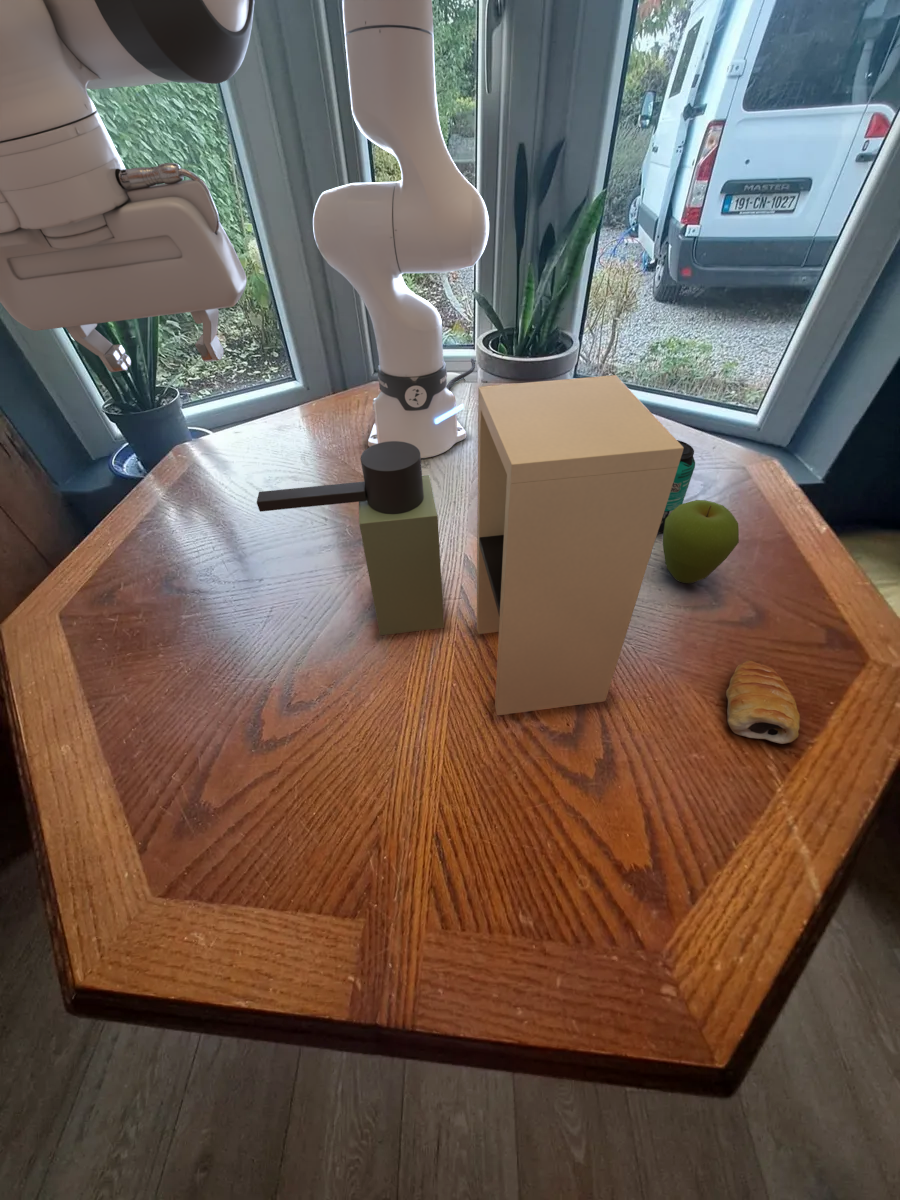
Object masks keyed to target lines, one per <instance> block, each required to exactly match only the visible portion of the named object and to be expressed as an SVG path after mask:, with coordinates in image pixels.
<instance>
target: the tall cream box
mask: <svg viewBox="0 0 900 1200" xmlns="http://www.w3.org/2000/svg"><path fill="white" fill-rule="evenodd" d="M477 390H478V393H477V397H478V398H477V404H478V405H477V410H478V411H477V505H476V506H477V510H476V511H477V516H476V517H477V521H476V522H477V524H476V526H477V528H476V532H477V533H476V543H477V544H476V631H477V634H478V635H483V634H492V633H498V639H497V641H498V642H497V659H496V660H497V661H496V678H495V695H494V696H495V698H494V709H495V713H496V716H505V715H513V714H521V713H526V712H527V713H528V712H535V711H541V710H549V709H557V708H564V707H566V708H567V707H572V706H573V707H574V706H579V705H588V704H595V703H603V702H606V701H607V698H608V694H609V690H610V688H611V685H612V681H613V678H614V675H615V671H616V669H617V665H618V662H619V659H620V656H621V652H622V649H623V645H624V642H625V640H626V637H627V633H628V630H629V627H630V623H631V619H632V618H633V613H634V611H635V607H636V605H637V601H638V597H639V595H640V591H641V588H642V584H643V582H644V578H645V574H646V571H647V568H648V565H649V562H650V560H651V556H652V552H653V549H654V546H655V543H656V540H657V537H658V533H659V532H658V530H659V527H660V523H661V520H662V517H663V514H664V510H665V507H666V504H667V501H668V498H669V494H670V491H671V488H672V485H673V481H674V478H675V475H676V472H677V469H678V465H679V462H680V459H681V456H682V452H683V449H684V447H683V446H682V445H681V444H680V443H679V442H678V441H677V440H678V439H676V438H675V436H674V435H673V434H672V433H671V432H669V430H668V429H667V428H666V426H664V425H663V423H661V421H659V419H658V418H657V417H656V416H655V415H654V414H653V413H652V411H650V410H649V409H648V408H647V407H646V405H644V404H643V402H642V401H641V400H640V399H639V398H638V397H637V396H636V395H635V393H634V392H632V390H631V389H630V388H629V387H627V385H626V384H625V383H624V382H623V380H621V379H620V378H619V377H618V376H617V374H613V375H612V374H611V375H599V376H588V377H577V378H564V379H554V380H553V379H552V380H543V381H530V382H529V381H528V382H518V383H517V382H516V383H508V384H496V385H484V386H482V385H481V386H478V389H477Z"/></svg>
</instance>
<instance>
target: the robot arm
mask: <svg viewBox="0 0 900 1200" xmlns="http://www.w3.org/2000/svg"><path fill="white" fill-rule="evenodd" d="M341 2H342V20H343V33H344V43H345V44H344V46H345V52H346V53H345V54H346V64H347V65H346V66H347V74H348V75H347V76H348V85H349V86H348V87H349V95H350V97H349V98H350V105H351V107H350V108H351V114H352V116H353V120H354V122H355V124H356V127H357V129H358V130H359V131H360V133H361V134H362V135H363V136H364V137H365V138H366V139H368V140H369V141H370V142H371V143H373V144H374V145H376V146H377V147H379V148H381V149H382V150H383V151H386V152H387V153H389V154H391V155H392V156H394V157H395V159H396V160H397V162H398V165H399V168H400V172H401V174H400V175H401V179H400V180H397V181H380V182H379V181H378V182H377V181H376V182H352V183H347V184H344V185H340V186H336V187H333V188H331V189H327V190H325V191H322V193H321V194H320V195H319V197H318V199H317V202H316V204H315V207H314V210H313V216H312V231H313V237H314V240H315V244H316V246H317V249H318V250H319V252H320V255H321V256H322V258H323V259H324V261H325V262H326V263H327V264H328V265H329V266H330V267H331V268H332V269H334V270H335V271H336V272H338V273H339V274H340V275H341V276H343V278H345V279H346V280H347V282H348V283H349V284H350V285H351V287H353V289H354V290H355V291H356V292H357V294H358V296H359V297H360V298H361V300H362V302H363V303H364V305H365V308H366V309H367V312H368V314H369V317H370V320H371V324H372V329H373V332H374V338H375V343H376V350H377V356H378V364H379V365H378V366H377V382H378V387H379V390H380V392H379V394H378V396H376V397H375V398H373V399H372V410H373V412H374V423H373V426H372V428H371V432H370V434H369V436H368V440H367V445H368V448H369V447H371V446H373V445H375V444H378V443H382V442H389V441H400V442H406V443H410V444H412V445H414V446H416V447H417V448H418V449H419V451H420V455H421V459H428V458H431V457H436V456H438V455H441V454H444V453H445V452H447V451H449V450H450V449H451V448H453V446H454V445H456V443H459V442H461V441H463V440H465V439H466V438H467V431H466V429H465V428H464V427H463V425H461V423H460V422H459V421H458V417H457V416H458V415H457V413H459V412H461V411H462V410H463V409H465V408H464V403H461V404H460V405H458V406H457V400H456V395H454V394H453V392H452V391H451V390H450V389H451V387H452V385H453V384H455V383H456V382H457V381H458V382H459V381H460V380H462V379H463V378H465V377H468V376H469V375H471V374H472V373H473V372H474V371H475V369H476V360H475V358H474V357H471V359H470V363H471V367H470V368H469V369H468V370H467V371H465V372H463V373H460V374H459V375H457V376H455V377H453V378H452V379H450V381H447V380H448V371H447V365H446V362H445V360H444V344H443V340H444V339H443V321H442V318H441V315H440V313H439V312H438V310H437V308H436V307H435V306H434V305H433V304H432V303H431V302H429V301H428V300H426V299H425V298H423V297H421V296H420V295H418V294H416V293H414V292H413V291H412V290H411V289H410V288H409V287H408V286H407V284H406V282H405V280H404V278H403V275H404V274H446V273H452V272H455V271H456V272H457V271H460V270H464V269H467V268H468V269H469V268H472V267H474V266H475V265H476V264H477V263H478V261H479V260H480V259H481V257H482V255H483V253H484V252H485V249H486V246H487V244H488V240H489V234H490V220H489V219H490V217H489V213H488V209H487V205H486V203H485V200H484V199H483V197H482V195H481V194H480V192H479V191H478V189H477V188H476V187H475V186H474V185H473V184H472V183H471V182H469V181H468V179H467V178H466V177H465V176H464V175H463V174H462V173H461V171H460V170H459V168H458V166H457V165H456V163H455V162H454V160H453V158H452V156H451V154H450V152H449V149H448V147H447V145H446V142H445V139H444V135H443V131H442V128H441V125H440V124H441V123H440V118H439V110H438V109H439V108H438V100H437V99H438V98H437V88H436V87H437V85H436V71H435V70H436V68H435V67H436V66H435V38H434V37H435V36H434V14H433V13H434V11H433V0H342V1H341ZM254 12H255V0H0V304H1V305H2V306H3V308H4V309H5V311H6V312H7V313H8V314H9V315H10V316H11V318H12V319H14V320H15V321H16V322H18V323H19V324H21V325H22V326H24V327H26V328H27V329H29V330H31V331H33V332H36V331H37V332H38V331H47V330H54V329H61V328H65V329H66V330H67V332H68V334H69V335H70V336H71V337H72V339H73V340H74V341H76V342H77V343H79V344H80V345H82V346H83V347H84V348H86V349H87V350H89V352H91V353H93V354H94V355H96V356H98V357H99V359H100V360H101V361H102V363H103V365H104V366H105V367H106V369H107V370H108V372H110V373H116V372H123V371H127V370H128V368H129V367H130V366H131V365H132V360H131V358H130V356H129V355H128V354H126V350H125V348H124V347H123V345H122V344H113V343H112V342H110V341H109V340H108V339H107V338H106V337H105V336H103V335H102V334H101V333H100V332H99V331H98V330H96V328H97V326H98V324H102V323H112V322H121V321H127V320H129V321H130V320H135V319H144V318H153V317H161V316H170V315H177V314H186V313H190V315H191V317H192V319H193V321H194V323H195V324H197V325H201V324H202V334H201V335H200V336H199V338H198V340H197V341H196V342H195V344H194V346H195V348H196V349H197V352H198V353H199V354H200V358H201V361H202V362H205V363H206V362H207V363H208V362H216V361H217V362H218V361H219V362H220V361H221V360H222V359H223V357H224V355H225V351H224V350H225V349H224V347H223V345H222V343H221V341H220V338H219V337H218V331H219V315H220V311H219V309H220V310H221V309H227V308H232V307H234V306H236V305H237V303H238V302H239V301H240V299H241V298H242V296H243V294H244V292H245V289H246V287H247V282H248V279H247V275H246V272H245V269H244V267H243V264H242V262H241V260H240V259H239V256H238V254H237V251H236V250H235V247H234V245H233V244H232V242H231V240H230V238H229V236H228V234H227V232H226V231H225V228H224V227H223V225H222V223H221V222H220V216H219V211H218V208H217V207H216V203H215V201H214V198H213V197H212V194H211V191H210V190H209V187H208V186H207V184H206V183H205V182H204V180H203V179H201V178H200V177H199V176H198V175H197V174H195V173H194V172H192V171H191V170H188V169H185V168H182V167H181V166H180V165H179V164H178V163H177V162H163V163H159V164H158V165H156V166H150V167H149V166H146V167H145V166H143V167H140V166H139V167H132V168H126V167H125V164H124V162H123V160H122V158H121V156H120V154H119V152H118V150H117V148H116V147H115V144H114V141H113V140H112V138H111V136H110V134H109V132H108V130H107V128H106V125H105V124H104V122H103V120H102V118H101V116H100V114H99V112H98V110H97V108H96V106H95V104H94V102H93V100H92V99H91V97H90V96H89V94H88V91H87V90H104V89H114V88H122V87H123V88H132V87H141V86H149V85H150V86H151V85H157V84H167V83H181V84H185V83H186V84H206V85H207V84H209V85H210V84H211V85H216V84H222V83H224V82H227V81H228V80H229V79H231V78H233V76H234V75H236V73H237V72H238V71H239V69H240V67H241V66H242V64H243V62H244V61H245V57H246V54H247V51H248V47H249V44H250V39H251V34H252V28H253V22H254ZM184 177H186V178H189V179H185V180H184Z"/></svg>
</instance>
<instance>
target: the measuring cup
mask: <svg viewBox="0 0 900 1200" xmlns="http://www.w3.org/2000/svg"><path fill="white" fill-rule="evenodd" d="M360 465H361V471H362V477H363V481H364V482H363V481H355V482H344V483H334V484H324V485H315V486H314V485H313V486H304V487H303V486H302V487H295V488H293V487H292V488H284V489H283V488H282V489H273V490H263V491H259V492H258V494H257V499H256V505H257V507H258V512H261V513H262V512H270V511H279V510H280V511H282V510H290V509H291V510H292V509H302V508H310V507H319V506H320V507H321V506H330V505H331V506H332V505H339V504H340V505H341V504H350V503H359V502H361V501H368V504H369V506H370V507H371V508H372V509H374V510H375V511H377V512H380V513H385V514H400V513H405V512H408V511H411V510H413V509H415V508H416V507H418V506H419V505H420V504H421V503H422V501H423V498H424V493H423V481H422V476H423V469H422V458H421V455H420V451H419V449H418V448H417V447H416V446H414V445H412V444H410V443H406V442H400V441H389V442H382V443H378V444H375V445H373V446H371V447H369V446H368V447H367V448H366V449H364V451H363V452H362V453H361V454H360Z"/></svg>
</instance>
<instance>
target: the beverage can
mask: <svg viewBox="0 0 900 1200" xmlns="http://www.w3.org/2000/svg"><path fill="white" fill-rule="evenodd" d="M676 440H677V441H678V442H679V443H680V444H681V445H682V446H683V447H684V449H683V452H682V456H681V459H680V462H679V465H678V469H677V472H676V475H675V478H674V481H673V485H672V488H671V491H670V494H669V498H668V501H667V504H666V507H665V510H664V514H663V517H662V520H661V523H660V527H659V530H658V533H661V532H664V525H665V519H666V518H667V517H668V515H669V514H670V513H671V512H672V511H673V510H674V509H675V508H676V507H678V506H679V505H680V504H683V503H684V500H685V497H686V496H687V495H686V494H687V491H688V489H689V486H690V482H691V480H692V477H693V474H694V471H695V467H696V460H695V458H694V455H695V449H694V448H693V446H691V444H688V443H687V442H685V441H682V440H678V439H676Z"/></svg>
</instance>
